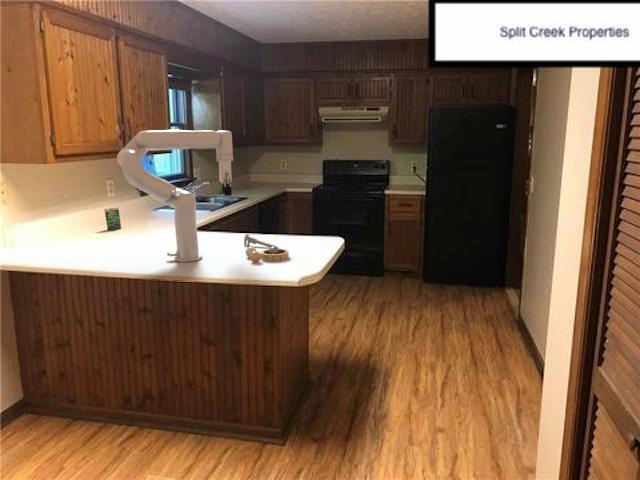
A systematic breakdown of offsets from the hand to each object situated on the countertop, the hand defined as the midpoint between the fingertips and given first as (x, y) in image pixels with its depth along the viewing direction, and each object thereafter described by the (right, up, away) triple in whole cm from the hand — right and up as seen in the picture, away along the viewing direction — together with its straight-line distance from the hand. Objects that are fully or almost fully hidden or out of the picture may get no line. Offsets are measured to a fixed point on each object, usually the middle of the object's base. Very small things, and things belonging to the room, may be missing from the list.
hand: (227, 194), depth 243 cm
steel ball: (+23, -27, -5) cm, 36 cm away
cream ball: (+12, -27, -5) cm, 30 cm away
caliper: (+14, -25, +17) cm, 34 cm away
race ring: (+23, -30, -7) cm, 38 cm away
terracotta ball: (+15, -29, -13) cm, 35 cm away
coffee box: (-83, -15, +75) cm, 113 cm away
